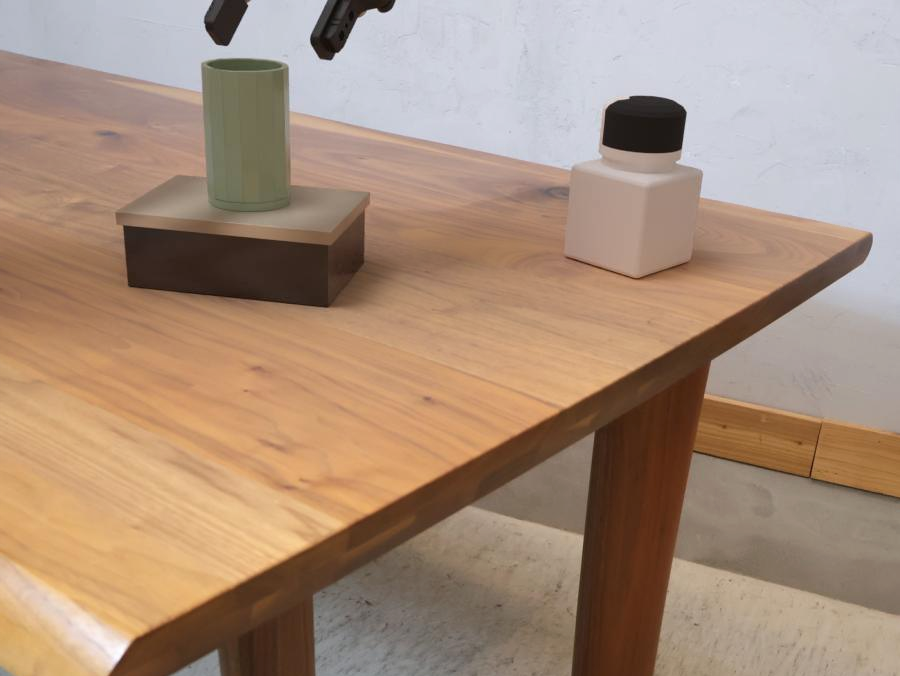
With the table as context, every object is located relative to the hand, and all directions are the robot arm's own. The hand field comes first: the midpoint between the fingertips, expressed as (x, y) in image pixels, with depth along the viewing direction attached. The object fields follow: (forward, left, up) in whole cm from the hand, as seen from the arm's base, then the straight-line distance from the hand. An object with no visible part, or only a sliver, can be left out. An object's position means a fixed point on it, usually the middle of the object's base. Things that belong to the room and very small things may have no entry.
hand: (266, 45), depth 76 cm
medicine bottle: (+25, +10, -15) cm, 31 cm away
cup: (-1, -2, -10) cm, 10 cm away
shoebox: (-1, -2, -15) cm, 15 cm away
